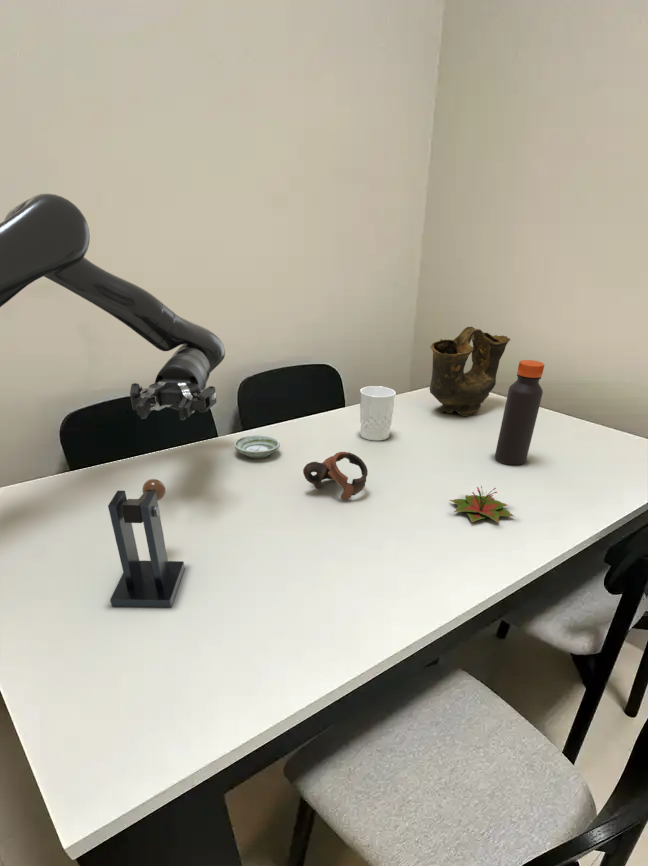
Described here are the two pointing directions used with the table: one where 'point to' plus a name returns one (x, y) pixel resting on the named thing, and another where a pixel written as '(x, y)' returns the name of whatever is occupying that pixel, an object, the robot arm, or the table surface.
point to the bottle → (520, 414)
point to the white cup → (376, 412)
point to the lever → (133, 505)
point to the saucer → (257, 445)
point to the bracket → (143, 578)
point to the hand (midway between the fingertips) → (161, 412)
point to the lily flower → (481, 507)
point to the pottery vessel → (473, 385)
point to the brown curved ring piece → (337, 473)
